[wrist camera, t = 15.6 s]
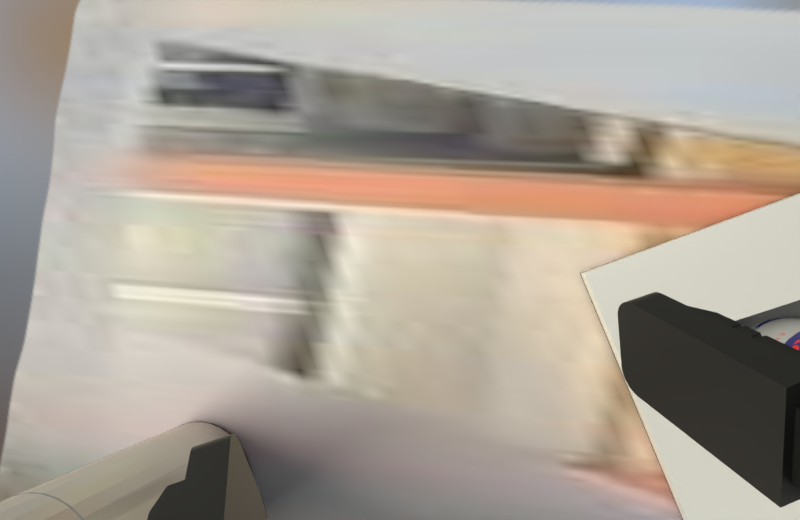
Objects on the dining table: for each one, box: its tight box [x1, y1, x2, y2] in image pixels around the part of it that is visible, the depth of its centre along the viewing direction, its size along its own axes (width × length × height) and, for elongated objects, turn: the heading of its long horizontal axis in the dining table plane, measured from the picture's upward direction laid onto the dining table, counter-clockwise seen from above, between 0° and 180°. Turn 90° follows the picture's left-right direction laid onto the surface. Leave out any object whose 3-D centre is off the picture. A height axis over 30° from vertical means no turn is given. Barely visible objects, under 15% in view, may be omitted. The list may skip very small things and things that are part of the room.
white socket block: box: [580, 193, 800, 520], centre depth 30 cm, size 18×18×3 cm
